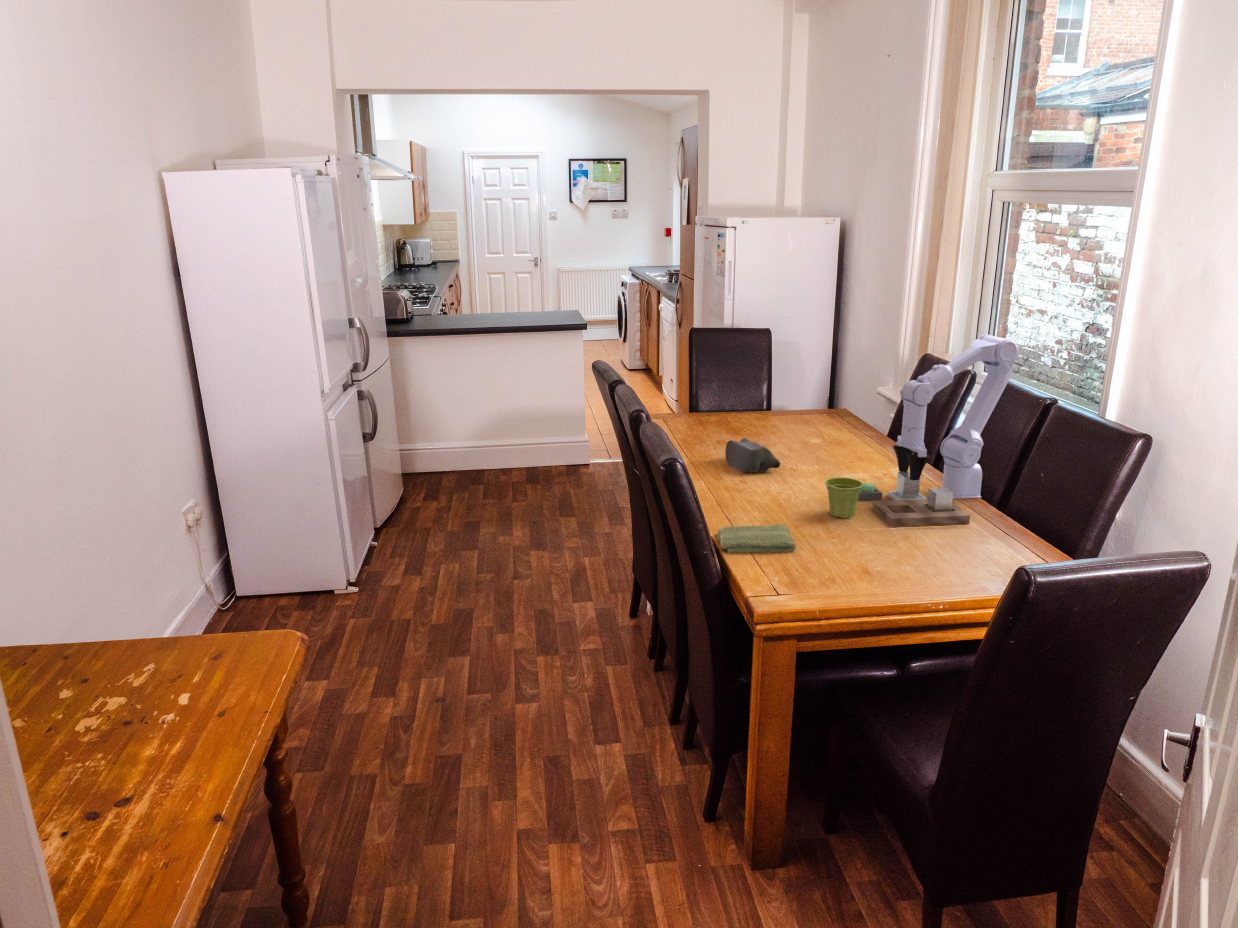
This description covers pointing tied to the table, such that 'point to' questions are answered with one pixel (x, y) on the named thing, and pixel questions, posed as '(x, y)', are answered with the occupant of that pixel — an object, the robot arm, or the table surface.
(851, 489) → the plant pot
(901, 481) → the billet
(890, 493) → the shallow grey tray
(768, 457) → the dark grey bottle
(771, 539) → the washcloth
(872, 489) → the button
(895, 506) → the board
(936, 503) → the seated billet
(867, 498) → the button housing
